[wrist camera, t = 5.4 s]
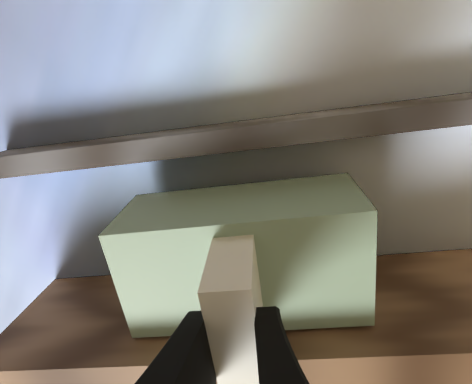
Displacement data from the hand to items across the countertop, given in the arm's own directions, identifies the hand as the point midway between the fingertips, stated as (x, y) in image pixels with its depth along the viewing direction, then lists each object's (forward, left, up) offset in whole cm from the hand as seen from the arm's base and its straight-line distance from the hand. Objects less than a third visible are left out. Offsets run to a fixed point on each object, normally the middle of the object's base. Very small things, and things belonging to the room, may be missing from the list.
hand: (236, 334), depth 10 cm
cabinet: (0, 0, -6) cm, 6 cm away
